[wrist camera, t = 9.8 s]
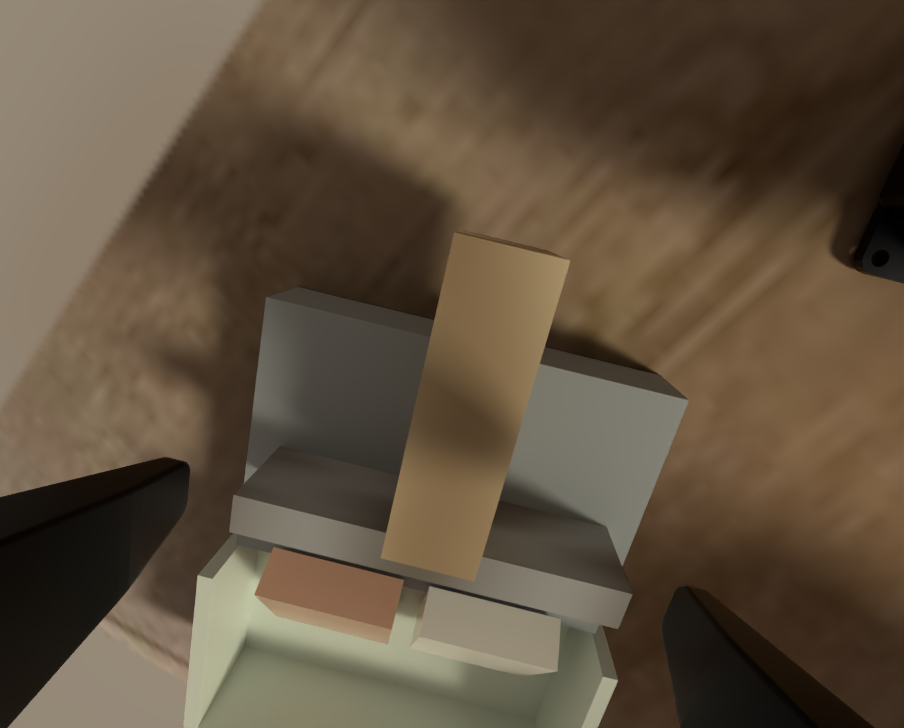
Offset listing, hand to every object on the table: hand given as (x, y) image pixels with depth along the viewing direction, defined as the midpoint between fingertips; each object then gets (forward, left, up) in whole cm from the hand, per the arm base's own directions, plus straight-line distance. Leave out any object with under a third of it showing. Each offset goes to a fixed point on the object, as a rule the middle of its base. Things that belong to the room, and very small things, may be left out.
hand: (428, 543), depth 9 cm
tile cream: (-3, +8, -7) cm, 11 cm away
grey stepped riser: (0, +2, -9) cm, 10 cm away
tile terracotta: (+2, +8, -7) cm, 11 cm away
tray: (0, +11, -9) cm, 14 cm away
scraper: (0, -1, -7) cm, 7 cm away
